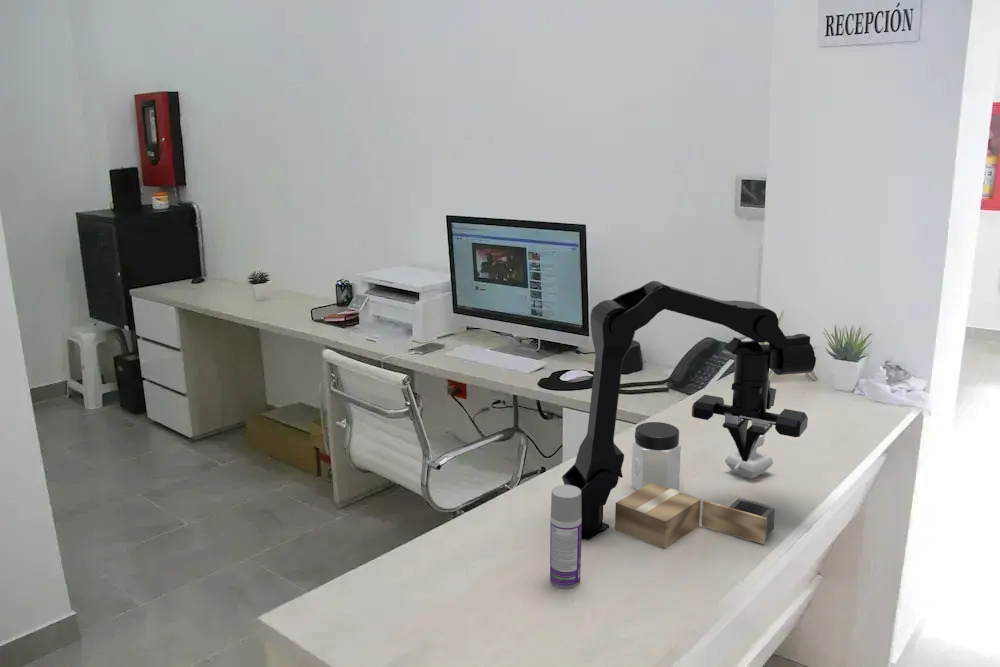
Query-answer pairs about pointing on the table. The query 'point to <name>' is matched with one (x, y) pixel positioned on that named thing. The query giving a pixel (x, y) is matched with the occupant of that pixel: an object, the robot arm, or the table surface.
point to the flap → (740, 519)
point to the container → (565, 536)
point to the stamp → (750, 462)
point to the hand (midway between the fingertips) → (745, 460)
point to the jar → (656, 455)
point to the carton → (657, 514)
